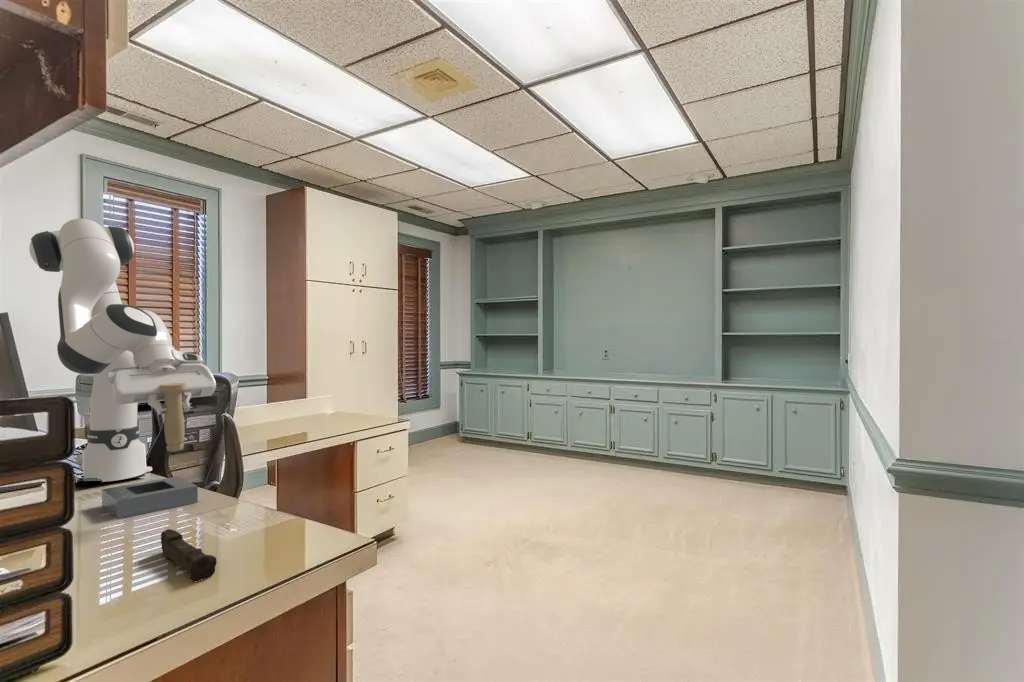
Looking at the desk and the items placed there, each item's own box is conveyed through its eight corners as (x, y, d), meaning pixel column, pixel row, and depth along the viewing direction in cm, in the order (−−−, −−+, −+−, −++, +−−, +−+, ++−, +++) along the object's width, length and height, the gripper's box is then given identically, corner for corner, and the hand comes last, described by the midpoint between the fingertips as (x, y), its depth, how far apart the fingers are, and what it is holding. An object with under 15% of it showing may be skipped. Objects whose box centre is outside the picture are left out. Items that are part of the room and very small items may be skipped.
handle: (163, 454, 116) (160, 386, 116) (161, 449, 121) (158, 384, 121) (189, 451, 119) (186, 384, 119) (186, 446, 124) (183, 382, 124)
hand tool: (217, 577, 88) (217, 549, 88) (190, 585, 85) (190, 556, 85) (180, 548, 101) (180, 523, 101) (156, 554, 98) (156, 529, 98)
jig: (102, 506, 126) (102, 489, 126) (178, 491, 138) (178, 476, 138) (117, 519, 117) (117, 500, 117) (197, 502, 129) (197, 485, 129)
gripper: (107, 359, 116) (121, 407, 110) (208, 355, 132) (225, 396, 126) (102, 378, 119) (116, 426, 113) (201, 372, 135) (218, 414, 129)
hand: (174, 411), depth 120 cm, fingers closed on handle, 3 cm apart
